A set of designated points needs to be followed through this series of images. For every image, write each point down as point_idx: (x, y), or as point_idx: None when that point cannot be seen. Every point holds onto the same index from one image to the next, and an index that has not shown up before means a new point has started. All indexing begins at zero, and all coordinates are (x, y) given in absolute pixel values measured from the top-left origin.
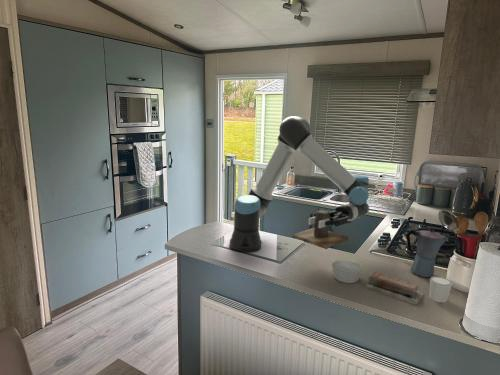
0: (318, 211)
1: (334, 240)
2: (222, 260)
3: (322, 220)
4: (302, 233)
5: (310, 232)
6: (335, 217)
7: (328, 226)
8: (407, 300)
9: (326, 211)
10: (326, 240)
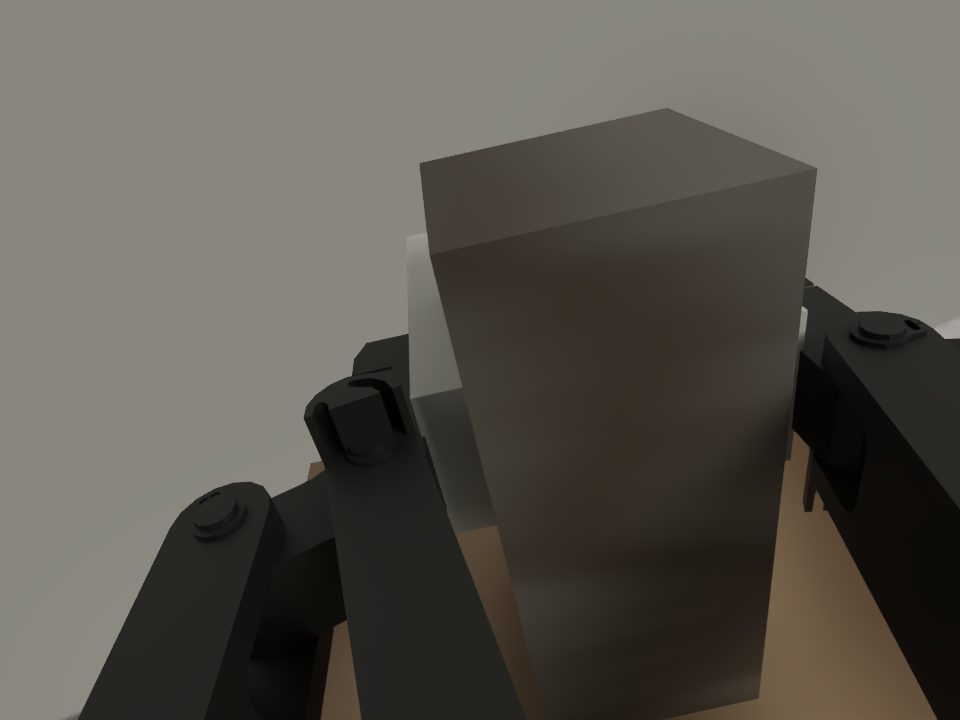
0: (661, 126)
1: (329, 680)
2: (940, 328)
3: (426, 265)
4: (806, 451)
5: (847, 574)
6: (396, 687)
7: (517, 604)
8: None
9: (579, 218)
10: None
